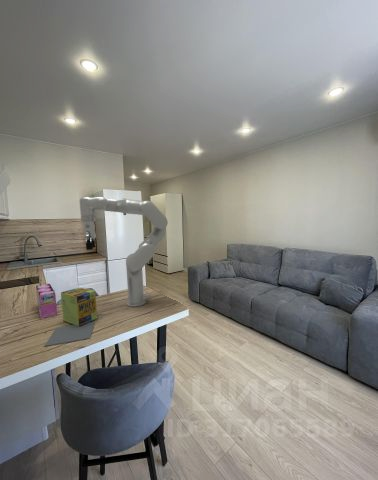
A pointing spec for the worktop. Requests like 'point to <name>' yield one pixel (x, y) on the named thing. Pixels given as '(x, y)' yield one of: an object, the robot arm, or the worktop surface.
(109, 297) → the worktop surface
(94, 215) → the robot arm
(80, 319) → the protein box
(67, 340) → the rubber mat
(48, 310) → the gum box
